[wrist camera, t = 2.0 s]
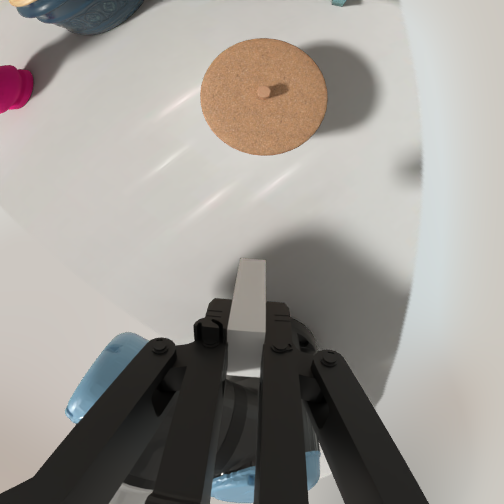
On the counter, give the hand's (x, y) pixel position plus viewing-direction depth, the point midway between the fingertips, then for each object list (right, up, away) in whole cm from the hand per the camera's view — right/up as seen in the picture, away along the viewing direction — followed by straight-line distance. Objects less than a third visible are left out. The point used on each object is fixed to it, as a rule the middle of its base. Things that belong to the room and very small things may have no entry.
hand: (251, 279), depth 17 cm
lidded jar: (+1, +18, +11) cm, 21 cm away
